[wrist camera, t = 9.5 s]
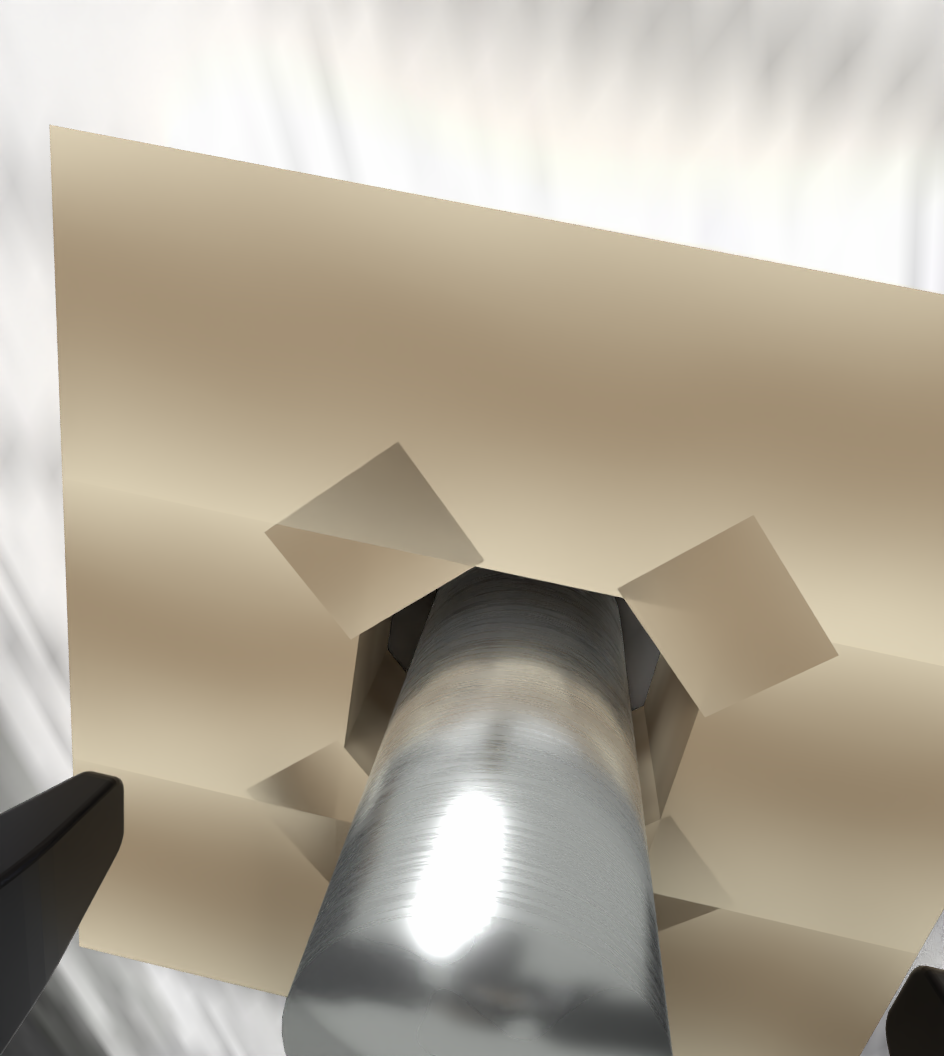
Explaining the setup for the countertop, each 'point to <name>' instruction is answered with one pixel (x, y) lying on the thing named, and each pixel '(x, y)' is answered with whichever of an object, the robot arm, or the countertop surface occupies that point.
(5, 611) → the countertop surface
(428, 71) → the countertop surface
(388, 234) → the hole board
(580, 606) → the tall steel pin
